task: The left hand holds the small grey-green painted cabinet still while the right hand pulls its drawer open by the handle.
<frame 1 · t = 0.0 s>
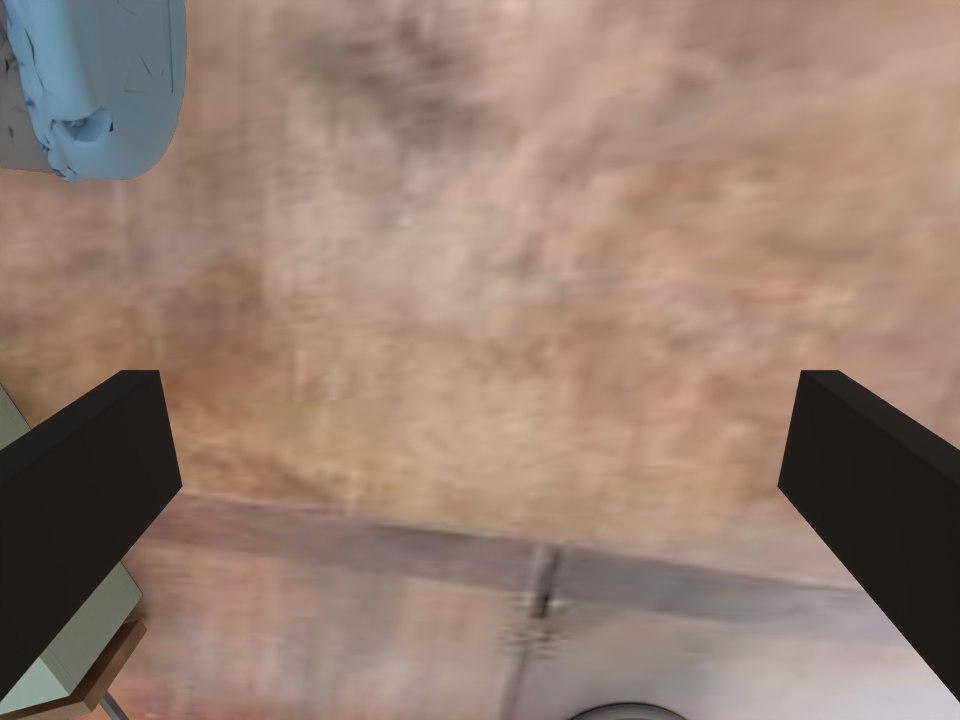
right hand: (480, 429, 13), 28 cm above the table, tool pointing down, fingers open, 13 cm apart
drawer: (19, 612, 44), point 5 cm above the table, slide at 1.5 cm
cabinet: (19, 509, 46), on the table
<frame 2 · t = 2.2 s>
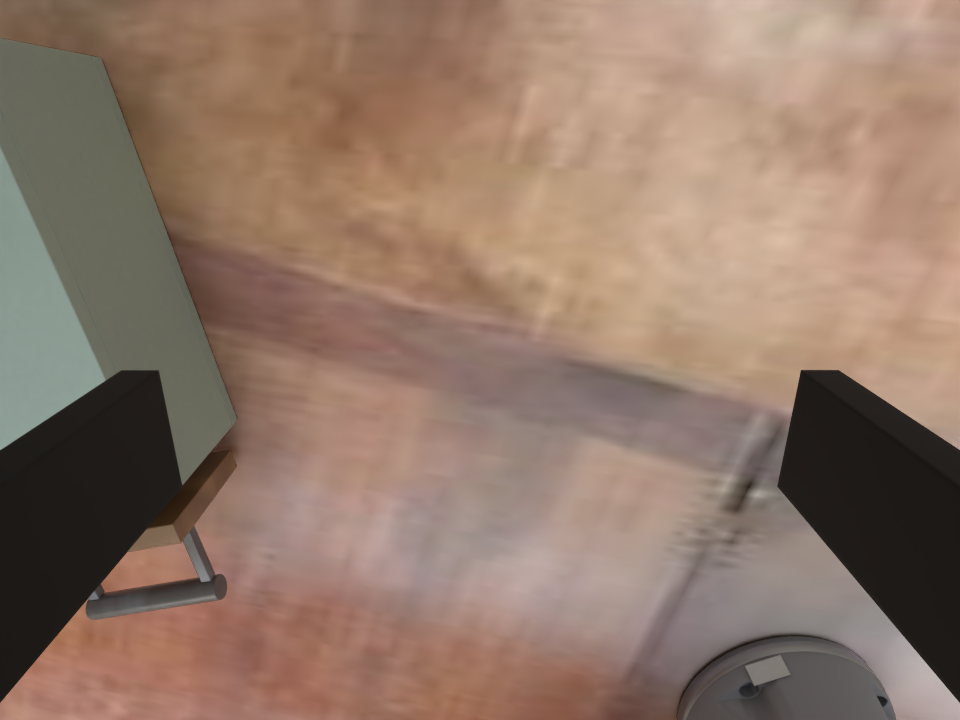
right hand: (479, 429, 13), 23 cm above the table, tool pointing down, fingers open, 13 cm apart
drawer: (89, 401, 32), point 5 cm above the table, slide at 1.5 cm
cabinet: (96, 274, 34), on the table
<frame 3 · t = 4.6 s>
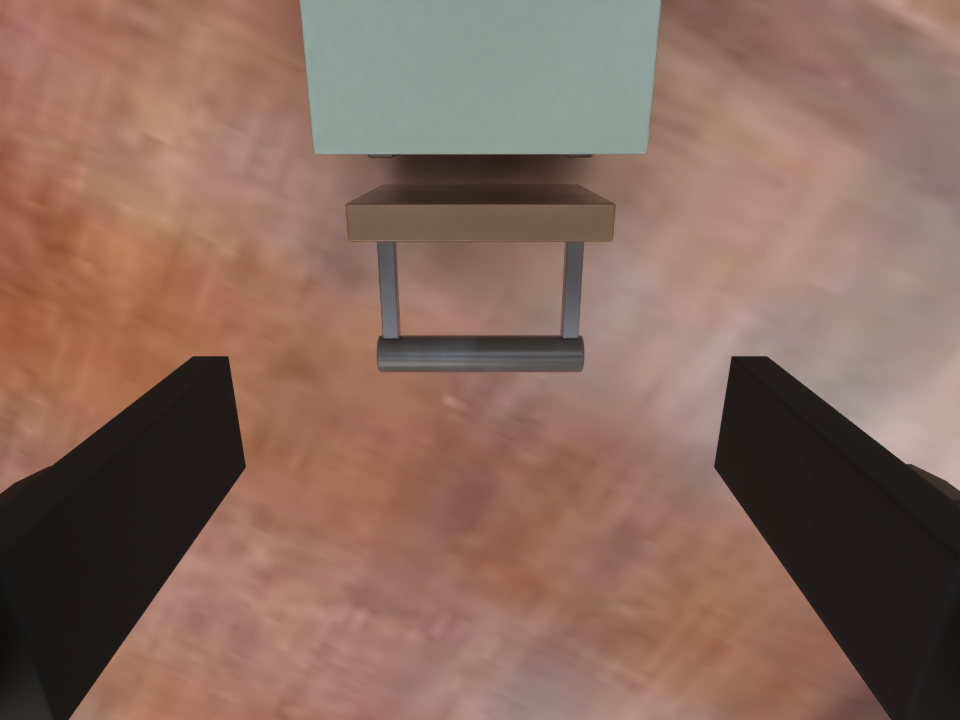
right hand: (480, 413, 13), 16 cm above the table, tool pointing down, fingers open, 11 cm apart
drawer: (480, 11, 20), point 5 cm above the table, slide at 1.5 cm
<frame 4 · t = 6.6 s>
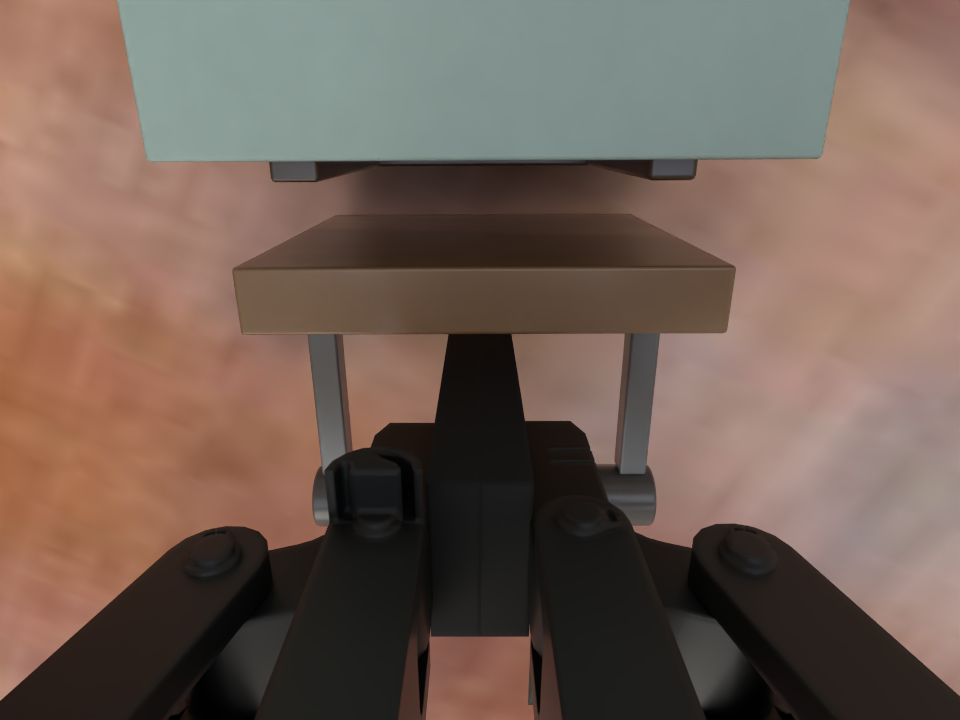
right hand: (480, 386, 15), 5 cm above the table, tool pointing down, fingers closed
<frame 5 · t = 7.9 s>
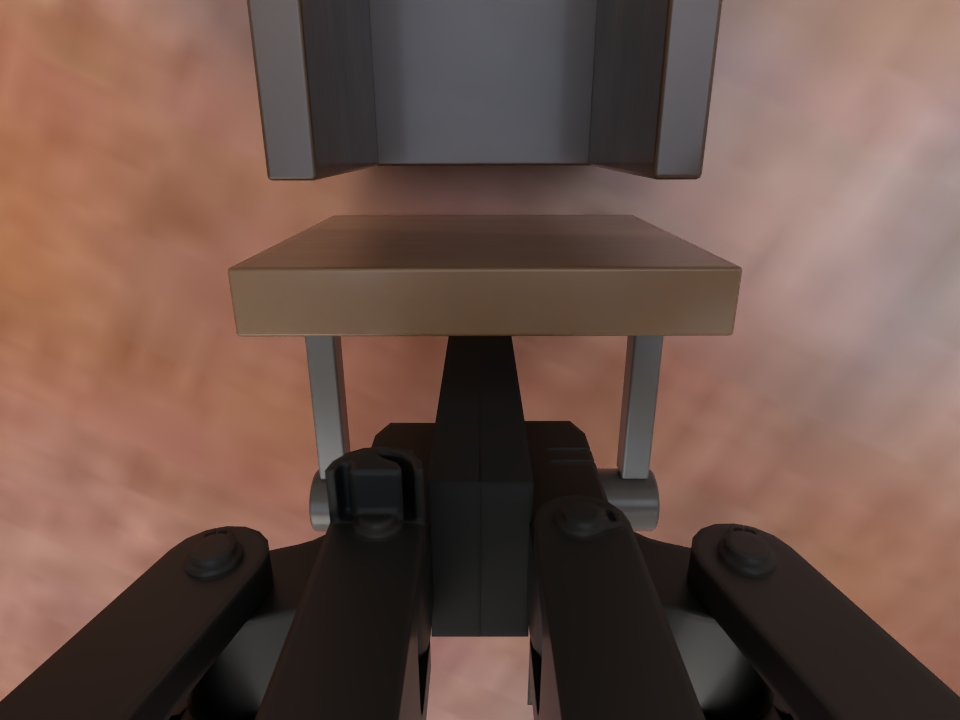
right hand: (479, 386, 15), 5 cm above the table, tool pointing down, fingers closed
when the left hand's fingers open (4 cm above the table, at t = 9.5 s): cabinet stays where it is, on the table.
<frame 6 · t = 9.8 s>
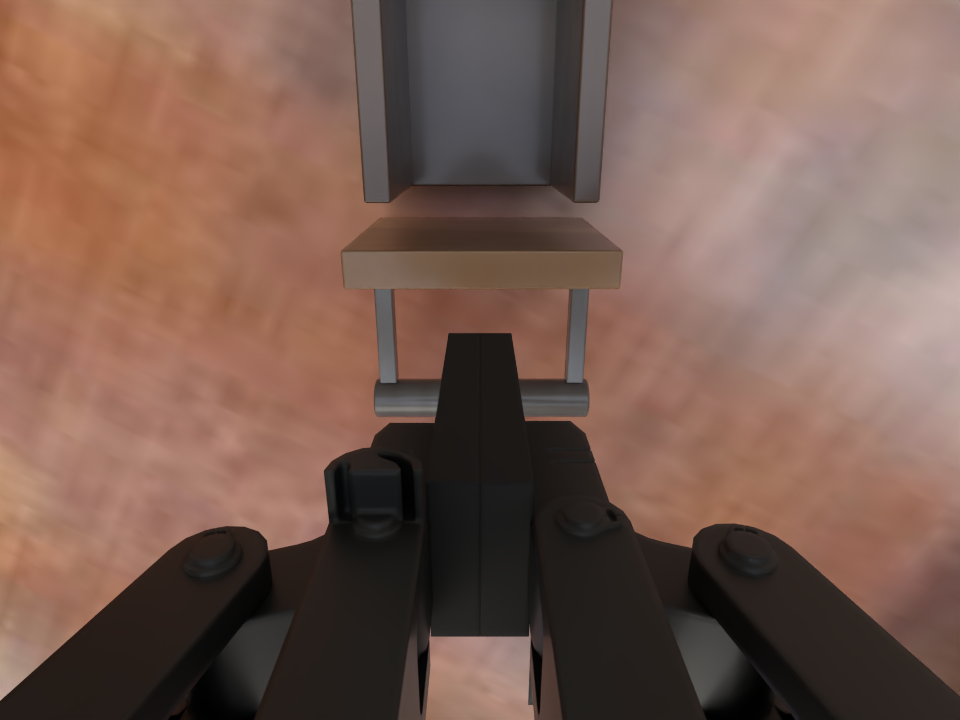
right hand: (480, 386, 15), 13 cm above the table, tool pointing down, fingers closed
drawer: (481, 46, 19), point 5 cm above the table, slide at 10.3 cm
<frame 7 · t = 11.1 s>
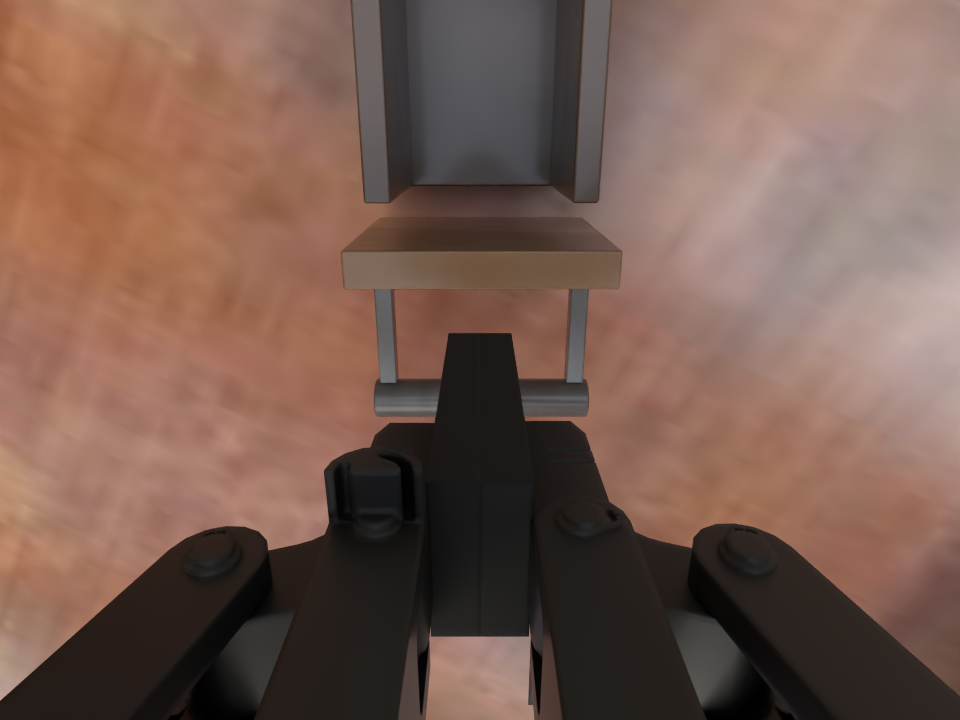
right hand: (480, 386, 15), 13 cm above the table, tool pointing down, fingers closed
drawer: (481, 47, 20), point 5 cm above the table, slide at 10.3 cm
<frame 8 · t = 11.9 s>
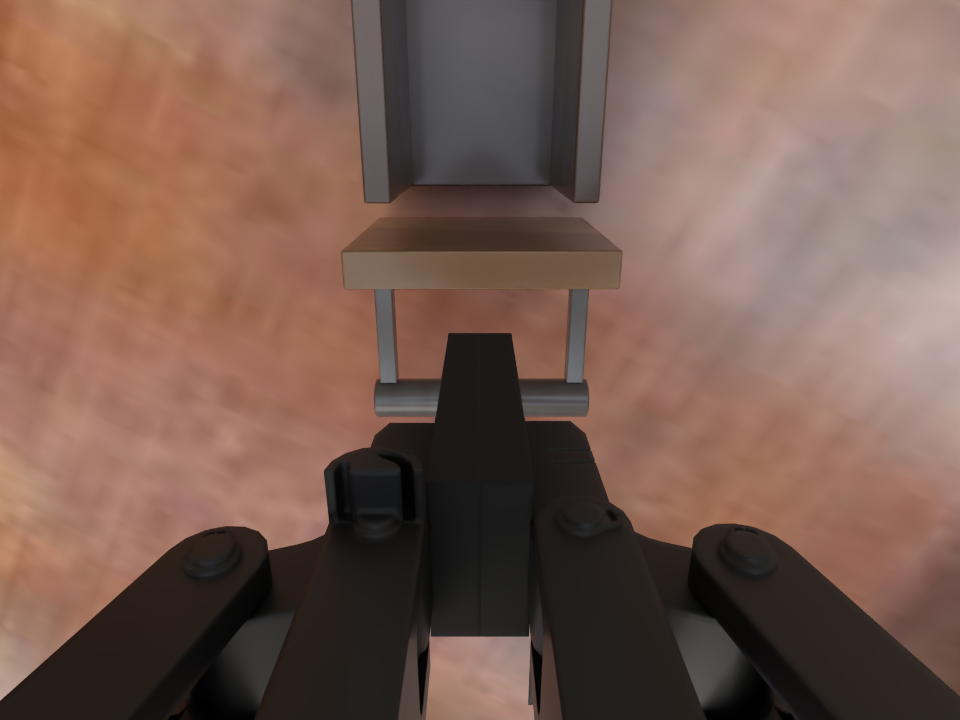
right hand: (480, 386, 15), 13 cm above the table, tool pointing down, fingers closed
drawer: (481, 47, 20), point 5 cm above the table, slide at 10.3 cm
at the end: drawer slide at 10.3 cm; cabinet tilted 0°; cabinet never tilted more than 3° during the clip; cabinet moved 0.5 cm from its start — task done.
